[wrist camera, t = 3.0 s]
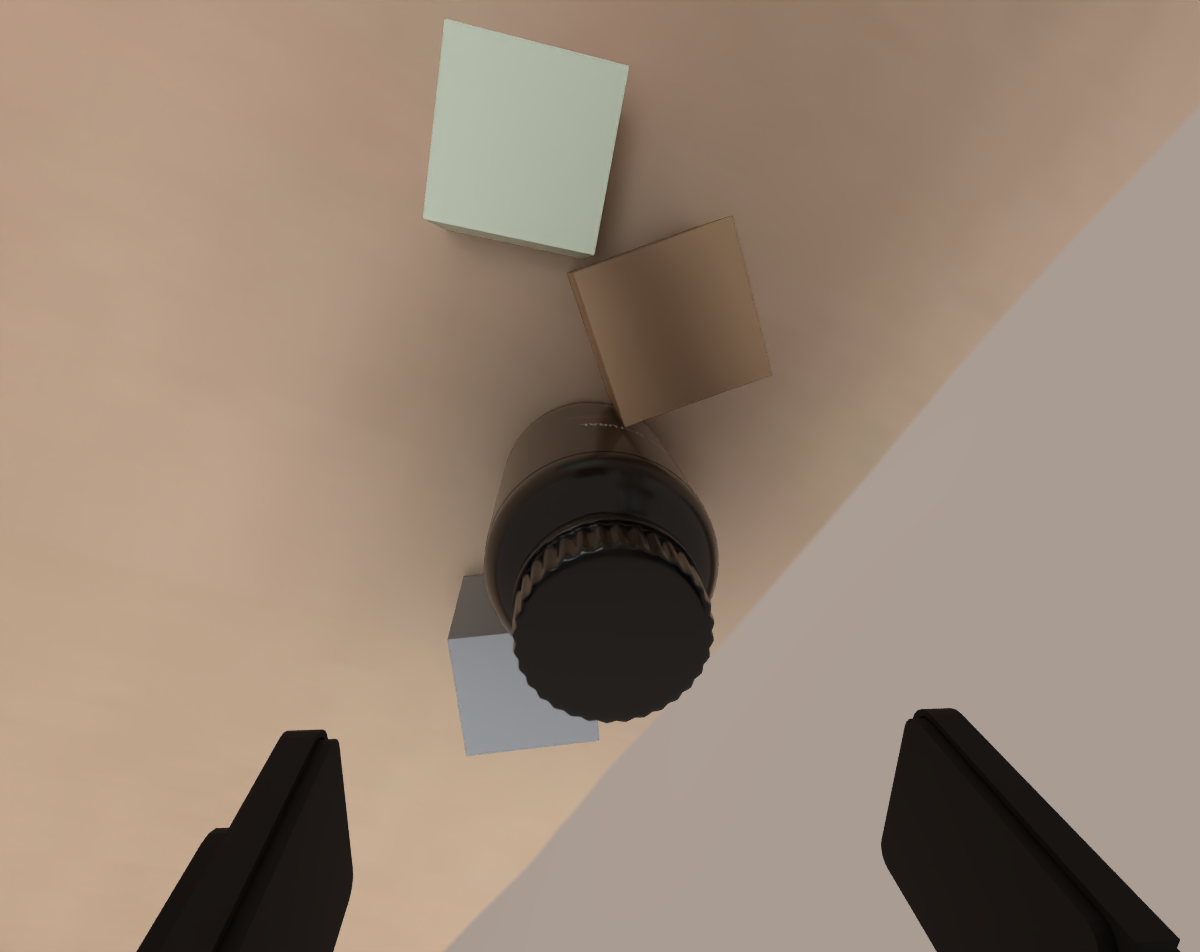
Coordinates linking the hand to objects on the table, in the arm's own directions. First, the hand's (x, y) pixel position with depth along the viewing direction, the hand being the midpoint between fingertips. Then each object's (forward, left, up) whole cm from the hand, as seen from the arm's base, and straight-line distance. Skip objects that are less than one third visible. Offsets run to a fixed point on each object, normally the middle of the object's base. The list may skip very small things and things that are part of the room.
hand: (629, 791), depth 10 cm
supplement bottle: (0, 0, -17) cm, 17 cm away
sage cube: (+2, -12, -17) cm, 20 cm away
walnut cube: (-3, -7, -17) cm, 18 cm away
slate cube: (+2, +6, -17) cm, 18 cm away
